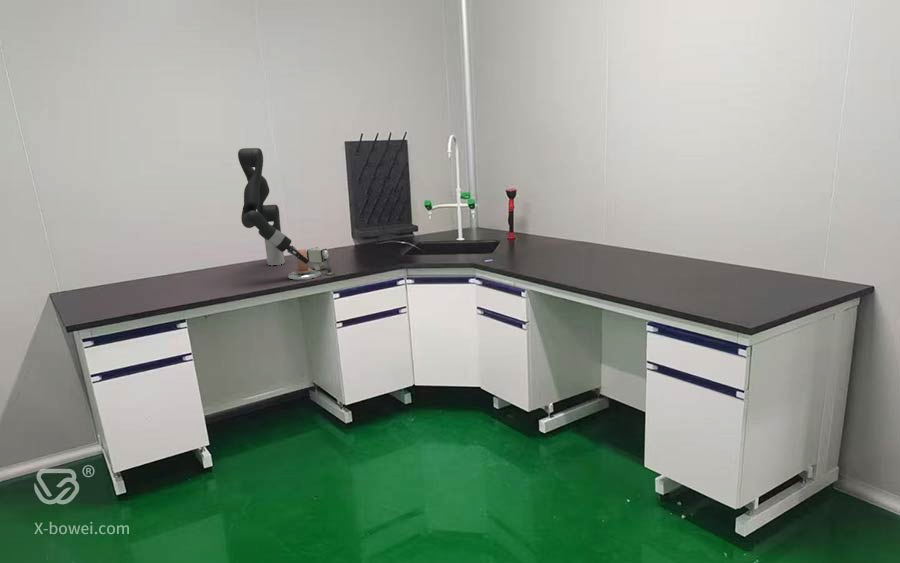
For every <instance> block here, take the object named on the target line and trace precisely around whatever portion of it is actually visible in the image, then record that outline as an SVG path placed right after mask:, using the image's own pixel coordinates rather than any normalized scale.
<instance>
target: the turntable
mask: <svg viewBox="0 0 900 563" xmlns="http://www.w3.org/2000/svg"><path fill="white" fill-rule="evenodd" d="M320 275H322V273H321V270H314V269H312V272H310V273H305V274H297V273H296V271H293V272H290V273H288V274H287V278H289V279H288V280H290V279H293V280H292V281H308V279H309V280H313V279H312V278H314V279H316V277H317V278H319V277H321V276H320ZM318 276H319V277H318Z"/></svg>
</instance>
